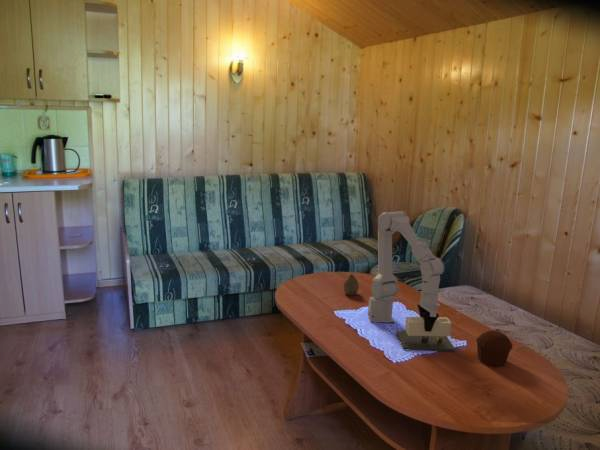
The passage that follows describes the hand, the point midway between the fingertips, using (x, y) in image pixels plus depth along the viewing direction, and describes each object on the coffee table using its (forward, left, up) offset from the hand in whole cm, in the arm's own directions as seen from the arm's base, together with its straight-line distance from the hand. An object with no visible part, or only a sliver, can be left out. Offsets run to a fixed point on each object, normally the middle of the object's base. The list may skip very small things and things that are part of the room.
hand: (426, 327), depth 179 cm
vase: (-22, +47, -6) cm, 52 cm away
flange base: (0, 0, -6) cm, 6 cm away
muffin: (+20, -12, -6) cm, 24 cm away
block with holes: (+1, 0, -2) cm, 2 cm away
